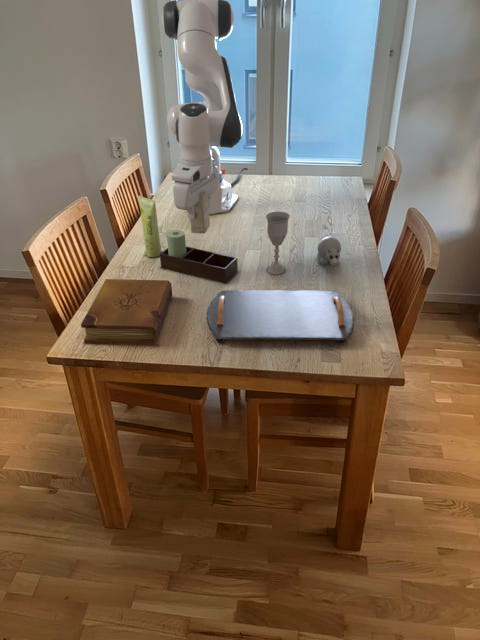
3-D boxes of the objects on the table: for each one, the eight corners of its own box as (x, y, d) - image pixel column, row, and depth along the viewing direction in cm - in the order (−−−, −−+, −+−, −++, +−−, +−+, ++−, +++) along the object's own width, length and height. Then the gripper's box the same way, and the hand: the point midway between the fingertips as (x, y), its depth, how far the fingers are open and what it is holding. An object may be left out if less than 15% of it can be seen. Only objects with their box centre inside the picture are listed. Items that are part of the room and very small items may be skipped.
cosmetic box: (204, 234, 154) (202, 195, 147) (190, 233, 155) (187, 194, 148) (210, 225, 159) (208, 187, 153) (196, 224, 160) (193, 186, 153)
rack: (174, 257, 171) (173, 243, 168) (237, 271, 162) (237, 257, 160) (161, 268, 165) (159, 253, 162) (225, 283, 156) (225, 269, 154)
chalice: (276, 262, 167) (277, 209, 157) (292, 269, 163) (294, 215, 153) (260, 270, 163) (260, 216, 153) (276, 278, 159) (278, 223, 149)
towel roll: (175, 259, 170) (172, 228, 163) (190, 263, 167) (188, 231, 161) (166, 267, 165) (163, 235, 159) (181, 270, 163) (178, 238, 157)
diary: (157, 345, 132) (155, 326, 128) (84, 343, 133) (80, 324, 129) (172, 297, 151) (171, 279, 147) (108, 295, 152) (105, 278, 148)
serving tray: (203, 347, 131) (202, 326, 127) (210, 298, 150) (209, 279, 146) (359, 348, 130) (362, 327, 126) (345, 298, 149) (348, 279, 145)
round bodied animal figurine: (321, 275, 160) (323, 250, 155) (314, 257, 170) (316, 233, 165) (344, 274, 160) (347, 249, 156) (336, 256, 170) (339, 232, 165)
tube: (143, 258, 171) (136, 201, 160) (145, 250, 175) (138, 195, 164) (161, 257, 171) (154, 200, 160) (162, 250, 175) (156, 194, 164)
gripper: (205, 155, 155) (207, 199, 163) (167, 176, 140) (172, 224, 148) (223, 157, 153) (225, 202, 161) (188, 179, 138) (191, 228, 146)
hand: (199, 213), depth 154 cm, fingers closed on cosmetic box, 6 cm apart
